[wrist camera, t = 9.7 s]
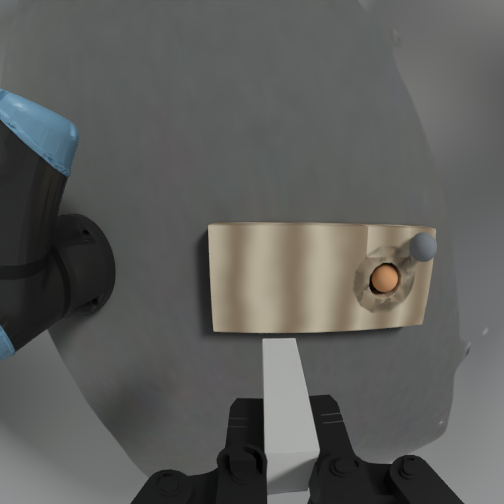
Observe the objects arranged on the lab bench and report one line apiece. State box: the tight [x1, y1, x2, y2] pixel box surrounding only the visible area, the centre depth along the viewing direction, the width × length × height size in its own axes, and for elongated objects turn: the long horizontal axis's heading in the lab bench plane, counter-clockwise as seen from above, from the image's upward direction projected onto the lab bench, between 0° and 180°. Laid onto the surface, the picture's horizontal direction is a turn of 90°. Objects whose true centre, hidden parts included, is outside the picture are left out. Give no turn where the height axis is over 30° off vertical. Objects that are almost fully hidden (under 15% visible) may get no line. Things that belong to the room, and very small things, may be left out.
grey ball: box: [410, 232, 437, 262], centre depth 28 cm, size 4×4×4 cm
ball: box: [372, 264, 398, 292], centre depth 32 cm, size 4×4×4 cm
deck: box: [208, 222, 436, 333], centre depth 33 cm, size 28×13×3 cm, turn 90°
